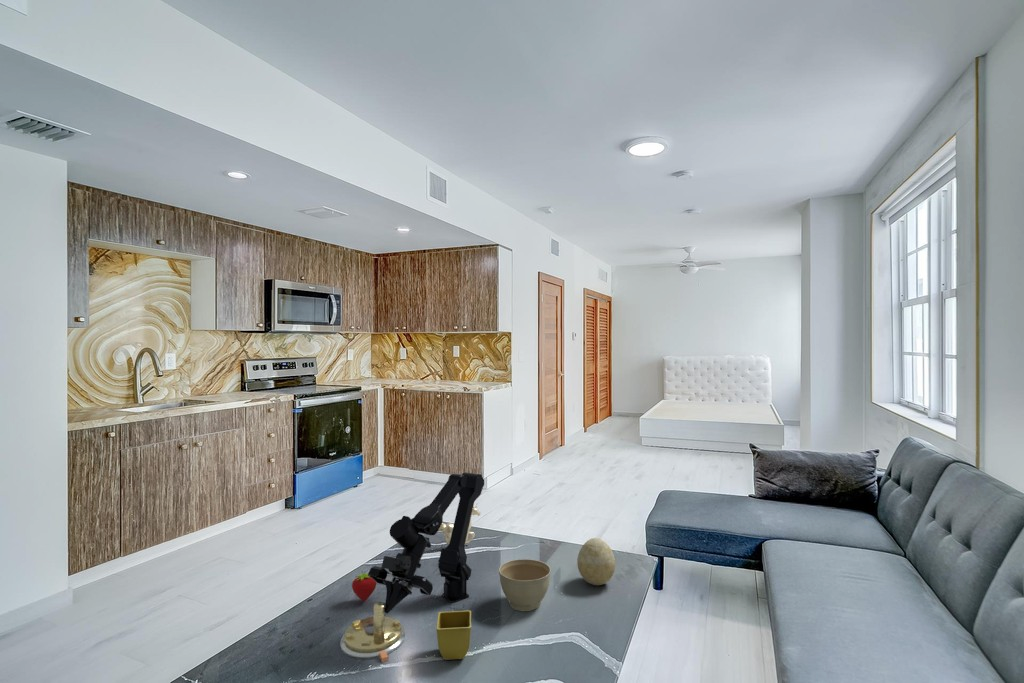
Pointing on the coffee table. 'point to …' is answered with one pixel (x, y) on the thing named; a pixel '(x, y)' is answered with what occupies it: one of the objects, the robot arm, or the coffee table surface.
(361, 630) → the crank disc
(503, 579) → the planter bowl
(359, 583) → the strawberry
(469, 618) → the flower pot
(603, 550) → the fossilized egg
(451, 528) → the unicorn
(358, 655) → the base plate
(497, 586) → the coffee table surface
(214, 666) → the coffee table surface
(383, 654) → the tab
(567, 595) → the coffee table surface
